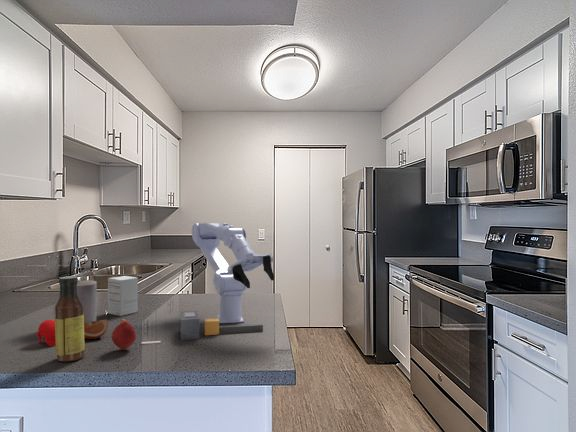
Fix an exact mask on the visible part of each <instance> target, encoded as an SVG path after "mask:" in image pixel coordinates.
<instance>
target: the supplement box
mask: <svg viewBox="0 0 576 432" xmlns="http://www.w3.org/2000/svg"><path fill="white" fill-rule="evenodd" d="M107 279H108V280H107V281H108V282H107V283H108V284H107V286H108V288H107V313H108V314H110V315H114V316H119V317H122V316H126V315H130V314H135V313H137V312H138V311H139V310H138V309H139V307H138V306H139V303H138V302H139V298H138V297H139V292H138V291H139V289H138V288H139V286H138V285H139V277H136V276H128V275H123V276H121V275H120V276H115V277H108V278H107Z"/></svg>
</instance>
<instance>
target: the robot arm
mask: <svg viewBox="0 0 576 432" xmlns="http://www.w3.org/2000/svg"><path fill="white" fill-rule="evenodd" d="M191 235H192V240H193V241H194V243H195V245H196V246H197V247H198V248H200V251H201V253H202V255H203V257H204V258H205V259H206V261H207V263H208V264H209V265H210V267H211V268H212V270H213V271H214V274H213V278H212V279H213V281H212V282H213V285H214V289H215V291H216V292H217V294H218V295H219V315H218V314H217V316H216V318H218V319H219V324H231V323H232V324H235V323H245V321H244V320H245V319H244V318H243V317H242V299H243V298H242V295H244V292H245V291H246V290H247V289H250V288H251V282H250V280H249V278H248V277H247V275H246V274H245V272H251V271H253V270H255V269H256V268H259V267H260V266H262V267H263V272H265V273H266V274H267V276H268V277H269V279H270V280H271V281H274V280H275V274H274V272H273V271H274V270H273V269H272V268H273V267H272V263H273V262H274V257H273V255H272V253H268V254H266V253H265V254H256V253H255V251H254V250H253V248H252V246H251V245H250V243H249V242H248V241H247V233H246V231H245V229H244V228H243V227H234V225H229V223H228V222H223V223H222V224H220V223H217V222H208V223H207V222H204V223H202V222H201V223H199V222H195V223H193V225H192V227H191ZM221 242H223V245H224V246H225V247H227V248H228V249H230V250H231V251H232V253H233V255H234V257H235V258H236V260H237V261H236V262H235V263H232V264H230V265H229V264H228V262H227V260H226V259H225V258H224V257H223V255H222V254H221V253H220V250H219V249H218V247H219V246H220V244H221Z"/></svg>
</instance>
